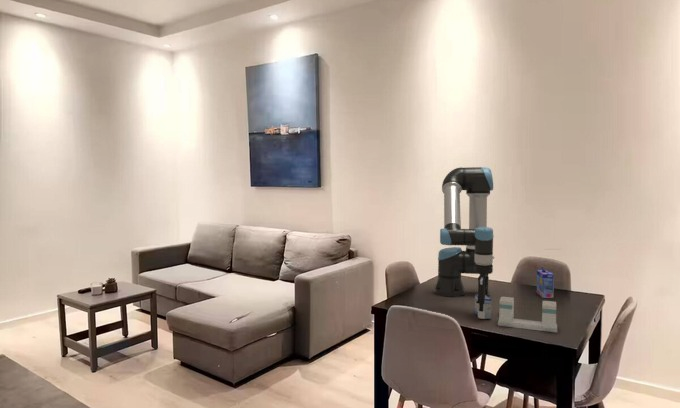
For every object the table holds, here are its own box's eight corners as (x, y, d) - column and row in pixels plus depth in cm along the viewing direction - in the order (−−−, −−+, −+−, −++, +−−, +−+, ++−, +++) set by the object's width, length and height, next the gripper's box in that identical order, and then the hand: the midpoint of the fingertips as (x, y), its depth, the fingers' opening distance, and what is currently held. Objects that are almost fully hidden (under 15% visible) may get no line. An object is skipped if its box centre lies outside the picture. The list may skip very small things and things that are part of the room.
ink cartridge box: (535, 292, 238) (536, 265, 237) (547, 293, 238) (547, 265, 237) (542, 298, 229) (542, 269, 227) (553, 298, 228) (554, 269, 227)
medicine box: (474, 313, 204) (474, 294, 204) (484, 312, 205) (484, 293, 204) (481, 319, 196) (481, 299, 196) (491, 318, 197) (491, 298, 196)
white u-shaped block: (497, 325, 189) (498, 300, 189) (499, 319, 197) (500, 296, 196) (557, 332, 180) (557, 307, 179) (556, 326, 187) (557, 301, 187)
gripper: (489, 269, 187) (488, 323, 189) (495, 259, 207) (494, 308, 209) (470, 268, 190) (470, 321, 192) (478, 258, 210) (477, 306, 212)
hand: (482, 314), depth 201 cm, fingers closed on medicine box, 9 cm apart
